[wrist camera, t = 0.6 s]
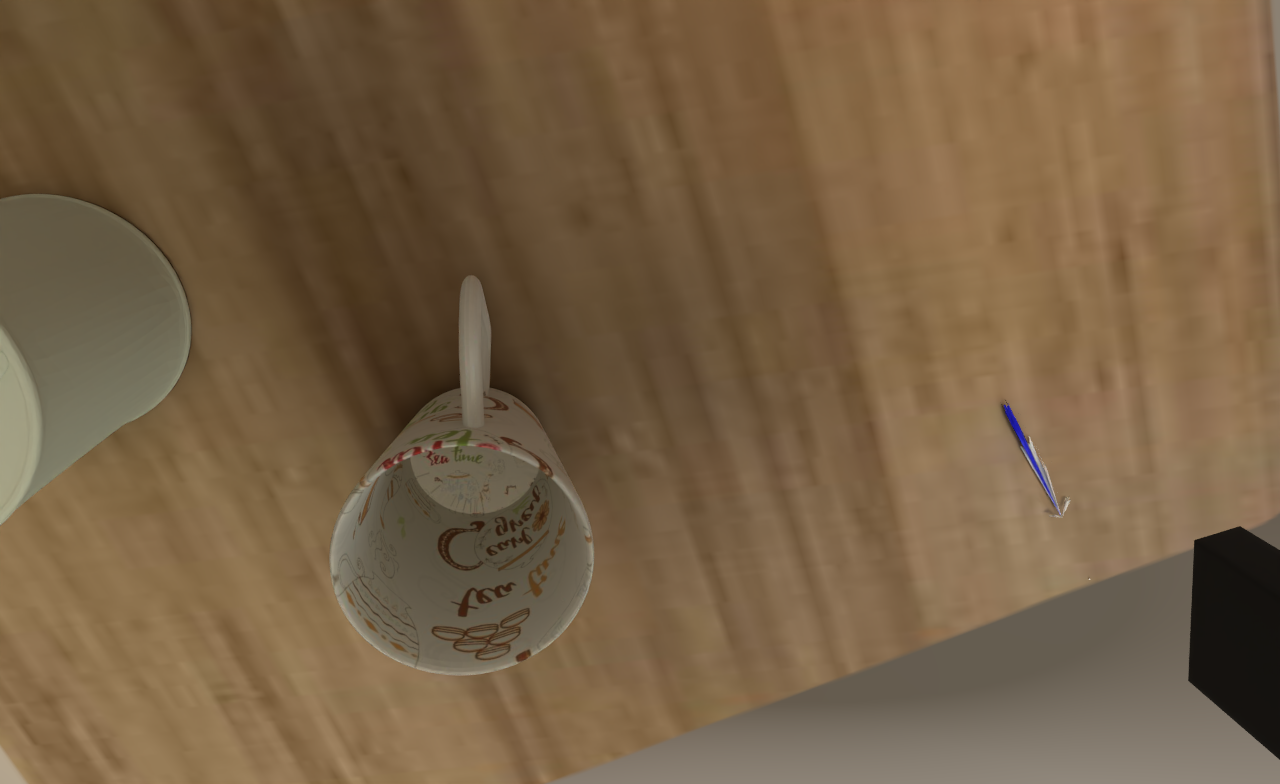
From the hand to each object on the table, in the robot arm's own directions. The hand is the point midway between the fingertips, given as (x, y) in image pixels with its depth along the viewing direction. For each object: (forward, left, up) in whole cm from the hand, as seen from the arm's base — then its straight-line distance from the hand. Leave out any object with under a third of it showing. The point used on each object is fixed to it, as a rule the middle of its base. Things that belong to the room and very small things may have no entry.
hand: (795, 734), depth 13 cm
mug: (+5, -3, -25) cm, 26 cm away
